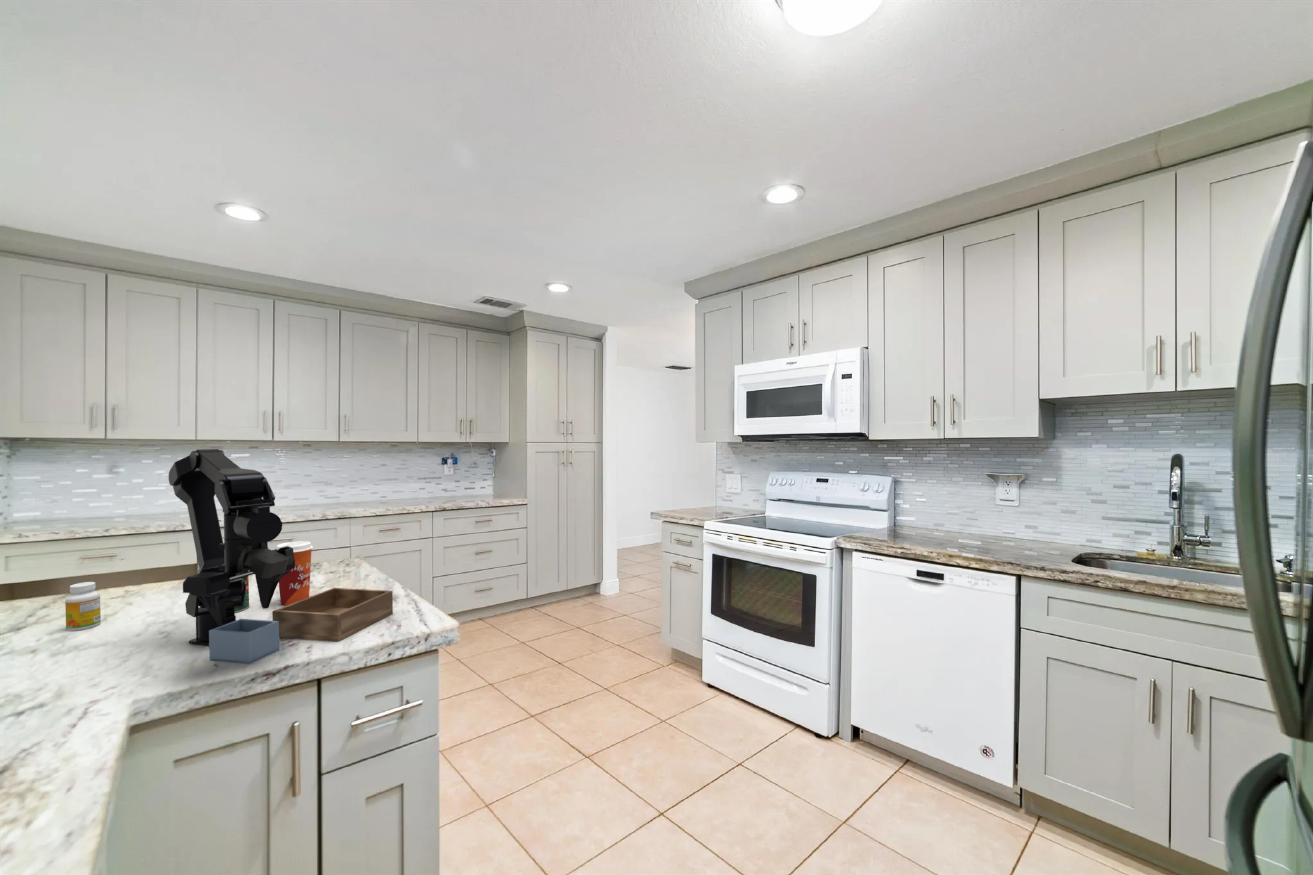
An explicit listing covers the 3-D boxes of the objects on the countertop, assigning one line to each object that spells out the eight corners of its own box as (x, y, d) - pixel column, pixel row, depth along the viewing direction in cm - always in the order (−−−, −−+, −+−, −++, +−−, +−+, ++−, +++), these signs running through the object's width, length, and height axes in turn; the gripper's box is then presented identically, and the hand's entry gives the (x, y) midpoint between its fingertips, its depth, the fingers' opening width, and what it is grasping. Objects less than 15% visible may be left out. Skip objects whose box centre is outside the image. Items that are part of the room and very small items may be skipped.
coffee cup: (299, 607, 134) (298, 547, 133) (267, 607, 134) (266, 547, 134) (321, 596, 142) (320, 540, 142) (290, 596, 142) (289, 540, 142)
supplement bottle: (61, 629, 120) (60, 585, 120) (95, 621, 125) (94, 579, 125) (71, 633, 118) (69, 588, 117) (104, 625, 122) (103, 582, 122)
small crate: (209, 661, 103) (208, 630, 103) (241, 647, 109) (240, 618, 109) (249, 665, 101) (248, 633, 101) (279, 650, 108) (278, 621, 107)
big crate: (272, 636, 115) (272, 611, 114) (334, 610, 131) (333, 587, 131) (338, 641, 112) (338, 615, 112) (392, 613, 128) (392, 590, 128)
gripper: (231, 549, 94) (233, 637, 94) (317, 529, 113) (318, 603, 113) (179, 546, 96) (181, 633, 97) (271, 527, 115) (272, 600, 115)
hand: (244, 616), depth 105 cm, fingers open, 9 cm apart
